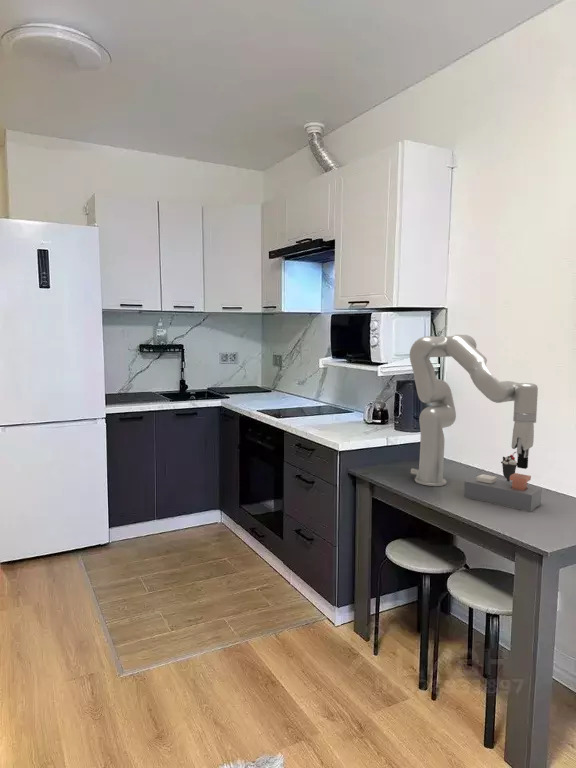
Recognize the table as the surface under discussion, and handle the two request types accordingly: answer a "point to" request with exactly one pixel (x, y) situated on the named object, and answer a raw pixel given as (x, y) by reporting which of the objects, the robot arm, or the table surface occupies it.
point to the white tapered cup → (486, 478)
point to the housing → (503, 494)
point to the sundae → (509, 466)
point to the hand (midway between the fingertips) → (522, 467)
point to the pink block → (519, 481)
